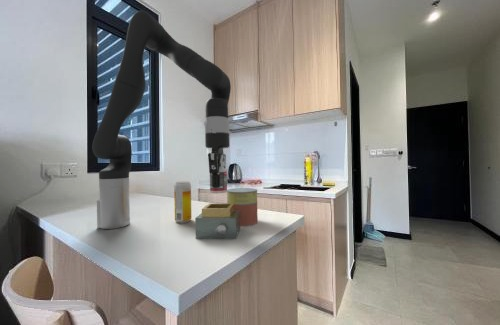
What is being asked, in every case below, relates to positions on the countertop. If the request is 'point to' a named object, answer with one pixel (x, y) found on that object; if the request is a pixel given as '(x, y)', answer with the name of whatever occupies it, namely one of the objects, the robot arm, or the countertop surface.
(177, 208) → the beer can
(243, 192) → the canned food
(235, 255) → the countertop surface
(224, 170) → the pill bottle
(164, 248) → the countertop surface
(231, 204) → the gold grey hollow block
